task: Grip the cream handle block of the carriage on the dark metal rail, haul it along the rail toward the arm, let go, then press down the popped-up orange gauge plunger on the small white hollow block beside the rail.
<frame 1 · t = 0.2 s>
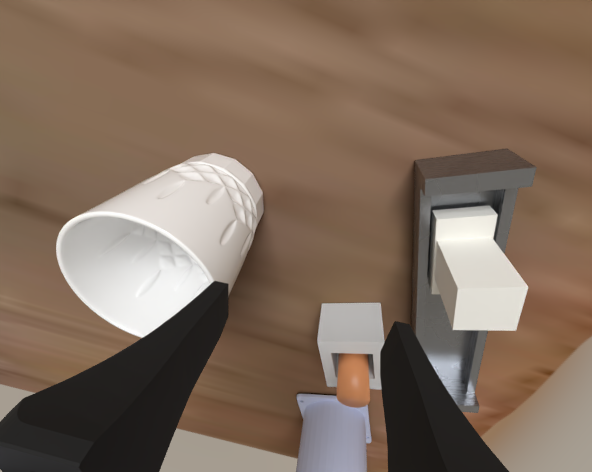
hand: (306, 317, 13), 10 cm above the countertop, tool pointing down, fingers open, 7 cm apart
carriage: (469, 274, 17), point 4 cm above the countertop, slide at 0.0 cm
gauge plunger: (353, 370, 23), point 4 cm above the countertop, slide at 0.0 cm
white cup: (222, 196, 22), on the countertop
rail: (446, 292, 23), on the countertop
white hollow block: (353, 326, 27), on the countertop
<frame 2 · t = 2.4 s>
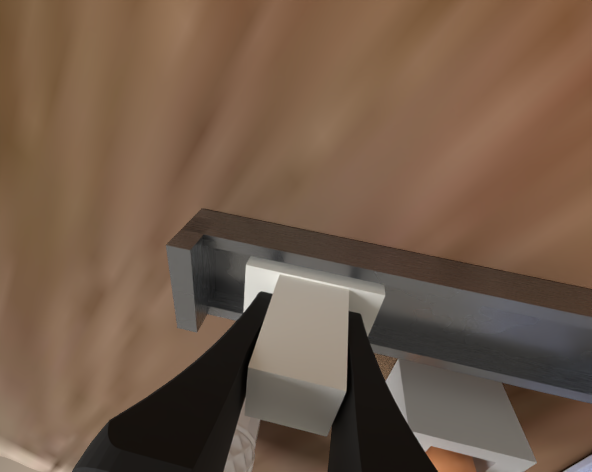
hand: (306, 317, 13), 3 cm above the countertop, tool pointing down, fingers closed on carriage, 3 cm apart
carriage: (303, 334, 12), point 4 cm above the countertop, slide at 0.0 cm, touching gripper
white cup: (224, 403, 24), on the countertop
rail: (411, 294, 15), on the countertop
white hollow block: (432, 392, 19), on the countertop
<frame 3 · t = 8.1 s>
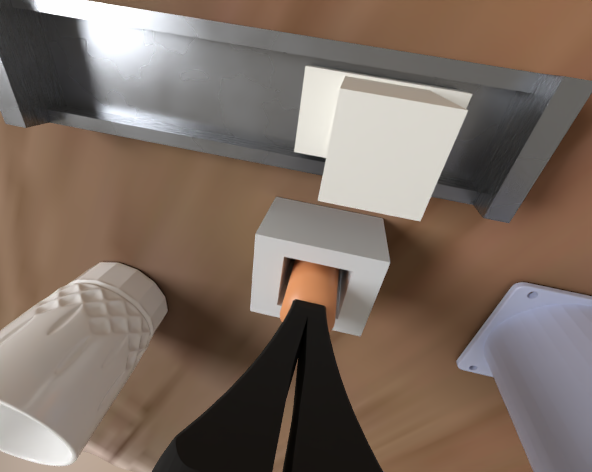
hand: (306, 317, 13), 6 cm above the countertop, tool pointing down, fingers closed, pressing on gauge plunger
carriage: (377, 135, 10), point 4 cm above the countertop, slide at 10.0 cm
gauge plunger: (313, 284, 14), point 4 cm above the countertop, slide at 0.7 cm, touching gripper
white cup: (130, 292, 23), on the countertop
rail: (265, 96, 14), on the countertop
white hollow block: (320, 244, 17), on the countertop
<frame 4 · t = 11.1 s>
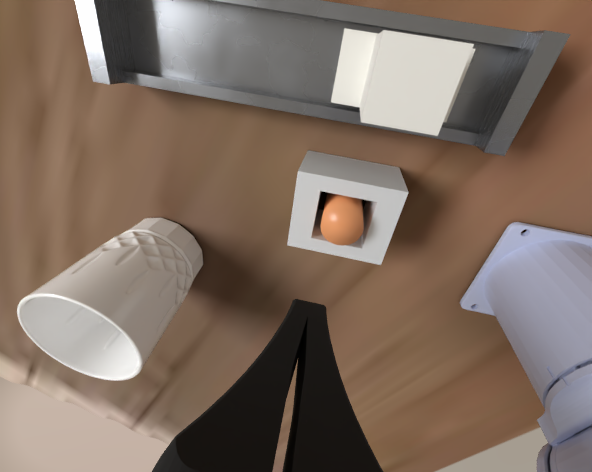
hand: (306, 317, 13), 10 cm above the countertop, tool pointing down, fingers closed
carriage: (402, 80, 13), point 4 cm above the countertop, slide at 10.0 cm
gauge plunger: (343, 210, 18), point 3 cm above the countertop, slide at 1.8 cm
white cup: (169, 248, 26), on the countertop
rail: (304, 59, 16), on the countertop
white hollow block: (344, 193, 20), on the countertop
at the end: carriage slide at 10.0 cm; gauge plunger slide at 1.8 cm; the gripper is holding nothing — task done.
